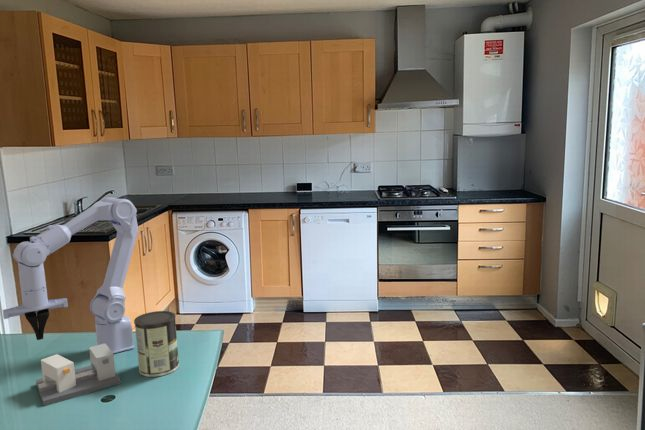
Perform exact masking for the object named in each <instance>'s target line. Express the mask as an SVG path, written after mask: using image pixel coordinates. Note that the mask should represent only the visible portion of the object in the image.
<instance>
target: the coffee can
mask: <svg viewBox="0 0 645 430" xmlns="http://www.w3.org/2000/svg"><path fill="white" fill-rule="evenodd" d="M133 323H134V329H135V338H136V349H137V360H138V361H137V362H138V372H139V374H140V375H141V376H144V377H148V378H157V377H162V376H165V375H166V376H167V375H169V374H172V373H174V372H175V371H176V370H177V369H179V367H180V360H179V350H178V340H177V327H176V326H177V325H176V313H174V312H173V311H169V310H159V311H158V310H157V311H150V312H146V313H143V314H140V315H138V316H137V317H136V318H134V320H133Z"/></svg>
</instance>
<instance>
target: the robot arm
mask: <svg viewBox="0 0 645 430" xmlns="http://www.w3.org/2000/svg"><path fill="white" fill-rule="evenodd" d="M137 212H138V210H137V208H136V207H135V205H134V203H133V202H132V201H131V200H130V199H127V198H118V197H117V198H115V197H111V196H107V197H104V198H103V199H102V200H99V201H96V202H95V203H94V204H93V205H91V206H89V207H88V208H86V209H85V210H84V211H83V212H80V213H79V214H78V215H76V216H75V217H73V218H72V219H71V220H69V221H68V222H66V223H65V224H63V225H61V224H54V225H52V224H49V225H48V226H46V230H44V231H42V232H40V233H38V234H37V235H36V236H34V235H33V236H30V237H29V241H28V240H27V241H22V242H20V243H18V244H17V245H16V246H15V248H14V250H13V253H12V257H13V260H15V262H17V266H18V267H17V269H18V279H19V286H20V295H21V302H22V303H21V304H20V305H17V306H14V307H10V308H5V309H2V315H3V320H8V319H10V318H12V317H19V316H25V317H24V318H25V319H26V320H27V322H28V323H29V325H30V326H31V328H32V330H33V332H34V333H35V334H34V335H35V338H36V340H37V341H40V340H41V341H42V340H44V333H45V328H46V325H47V321H48V320H49V318H50V311H49V310H53V309H58V308H68V307H69V305H68V304H69V303H68V298H66V297H65V298H64V297H63V298H56V299H48V289H47V282H46V281H47V280H46V274H45V273H46V272H45V266H44V262H45V261H46V259H47V256H50V255H51V254H53V253H55V252H56V251H57V250H59V249H61V248H62V247H64V246H66V245H67V244H68V243H70V241H71V238H72V236H74V235H75V234H76V233H79V232H80V231H81V230H83V229H85V228H87V227H88V226H91V225H93V224H94V223H96V222H98V221H108V222H109V223H110V224H111V225H112V226H113V228H114V229H115V230H116V235H115V239H114V244H113V248H112V251H111V254H110V258H109V262H108V265H107V269H106V271H105V275H104V280H103V284H102V285H100V287H99V288H97V289H96V294H95V295H94V297H93V298H92V299H91V301H90V304H89V309H90V312H91V313H92V314H93V315H94V325H95V326H94V327H95V333H96V336H95V337H96V345H100V344H104V343H105V344H106V345H107V346H108V347H109V349H110V350H111V351H112V353H113V355H114V354H118V353H120V352H121V353H122V352H125V351H128V350H129V351H130V350H132V349H135V345H134V336H133V325H132V320H131V318H130V316H129V315H125V314H126V306H125V301H126V295H125V292H124V285H125V280H126V277H127V274H128V270H129V266H130V264H131V263H130V262H131V258H132V255H133V251H134V248H135V244H136V241H137V236H138V232H139V225H138V221H137V219H138V218H137Z"/></svg>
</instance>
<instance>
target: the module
mask: <svg viewBox="0 0 645 430" xmlns="http://www.w3.org/2000/svg"><path fill="white" fill-rule="evenodd" d="M40 365H41V373H42V375H41V376H42V378H43V383H45V382H49V381H52V380H55V381H56V384H57V391H58V392H62V391H65V390H67V389H69V388H72V387H74V386H76V378H75V370H76V369H75V363H74V361H72V360H69V359H68V358H65V357H64V356H62V355H59V353H56V354H54V355H51V356H48V357H45V358H42V359H40Z"/></svg>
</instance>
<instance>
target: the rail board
mask: <svg viewBox="0 0 645 430" xmlns="http://www.w3.org/2000/svg"><path fill="white" fill-rule="evenodd" d="M88 349H89V361H90V365H87V366H84V367H81V368H77V369H75V378H76V386H74V387H72V388H69V389H67V390H65V391H62V392H58V391H57V384H56V381H55V380H52V381H49V382H45V383H43V377H42V378H39V379H36V380H35V384H36V387H37V390H38V393H39V397H40V399H41V402H42V404H43V407H45V406H49V405H53V404H55V403H56V404H57V403H59V402H62V401H65V400H70V399H72V398H77V397H80V396H82V395H87V394H90V393H93V392H97V391H100V390H102V389H103V388H104V389H107V388H111V387H114V386H117V385H116V384H118V385H120V384H121V378H120V377H119V375H118V374H117V373H116V367H115V366H116V365H115V357H114V354H113V353H112V351H111V350H110V349H109V347H108V346H107V345H106V344H105V343H104V344H100V345H97V344H96V345H93V346H90V347H88ZM113 385H114V386H113ZM110 386H111V387H110ZM106 387H107V388H106Z"/></svg>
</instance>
